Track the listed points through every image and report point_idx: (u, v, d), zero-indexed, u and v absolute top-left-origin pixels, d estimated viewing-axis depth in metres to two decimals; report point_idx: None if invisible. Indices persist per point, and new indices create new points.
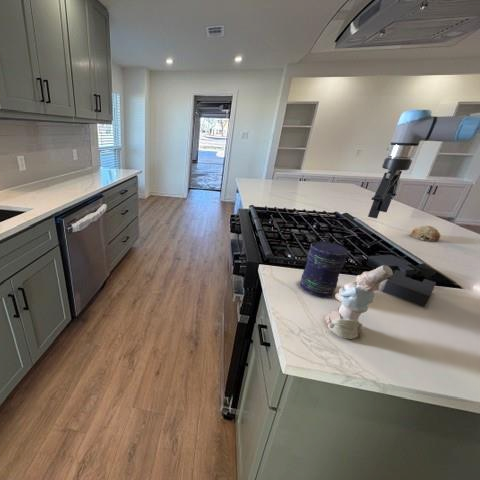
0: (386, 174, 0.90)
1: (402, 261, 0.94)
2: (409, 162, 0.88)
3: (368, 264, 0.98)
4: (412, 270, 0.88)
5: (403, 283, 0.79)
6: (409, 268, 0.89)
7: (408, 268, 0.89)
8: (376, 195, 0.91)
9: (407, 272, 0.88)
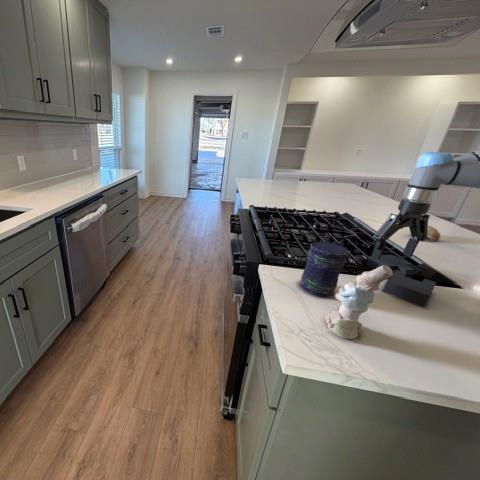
0: (391, 215, 0.87)
1: (402, 261, 0.94)
2: (422, 206, 0.83)
3: (368, 264, 0.98)
4: (412, 270, 0.88)
5: (403, 283, 0.79)
6: (409, 268, 0.89)
7: (408, 268, 0.89)
8: (376, 234, 0.90)
9: (407, 272, 0.88)
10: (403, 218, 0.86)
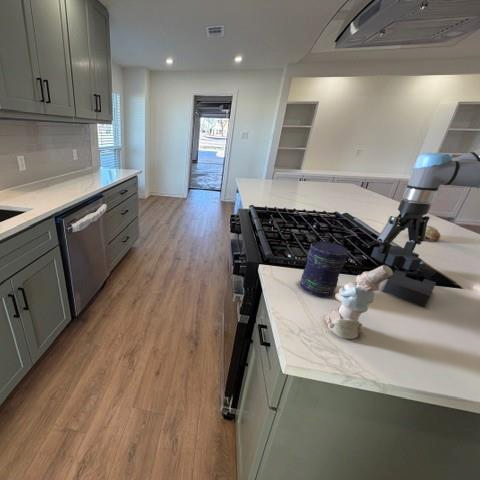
0: (391, 218, 0.87)
1: (408, 251, 0.92)
2: (422, 207, 0.83)
3: (373, 255, 0.96)
4: (418, 260, 0.86)
5: (403, 283, 0.79)
6: (415, 258, 0.87)
7: (414, 258, 0.87)
8: (379, 238, 0.90)
9: (413, 262, 0.86)
10: (403, 219, 0.86)
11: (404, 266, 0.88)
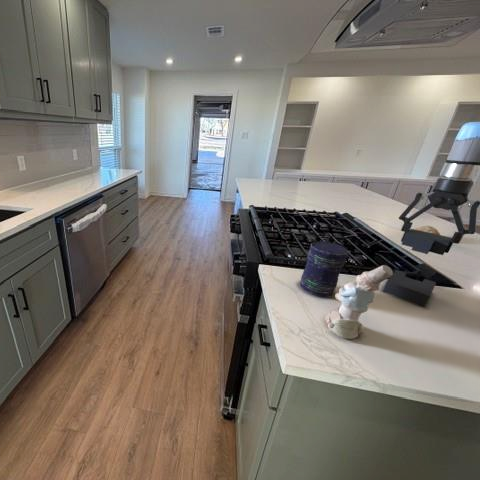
0: None
1: (442, 240, 0.80)
2: (446, 182, 0.75)
3: None
4: (428, 242, 0.78)
5: (403, 283, 0.79)
6: (426, 240, 0.79)
7: (425, 240, 0.79)
8: None
9: (419, 242, 0.80)
10: (430, 196, 0.80)
11: (413, 247, 0.82)
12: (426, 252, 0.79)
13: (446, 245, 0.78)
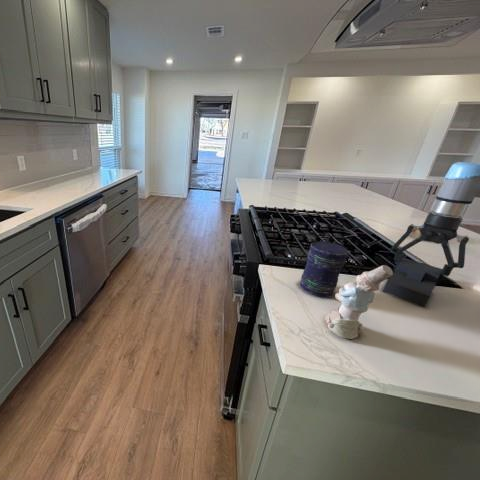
0: (409, 225, 0.86)
1: (433, 272, 0.82)
2: (436, 218, 0.78)
3: None
4: (419, 275, 0.81)
5: (403, 283, 0.79)
6: (417, 272, 0.82)
7: (416, 272, 0.82)
8: (394, 244, 0.90)
9: (411, 274, 0.83)
10: (421, 229, 0.83)
11: None
12: None
13: (436, 278, 0.80)
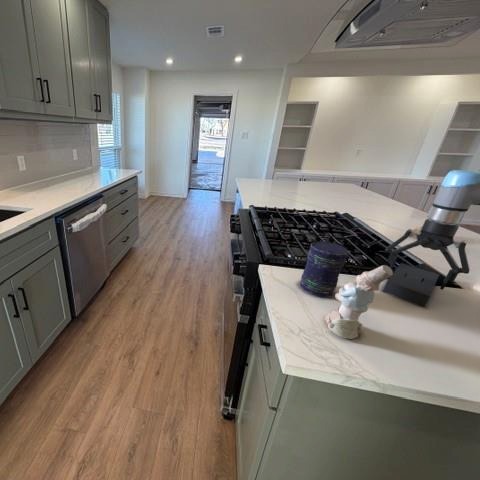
0: (407, 230, 0.87)
1: (430, 277, 0.83)
2: (433, 225, 0.79)
3: None
4: None
5: (403, 283, 0.79)
6: (415, 278, 0.83)
7: (414, 277, 0.83)
8: (388, 246, 0.92)
9: None
10: (418, 236, 0.84)
11: None
12: None
13: None
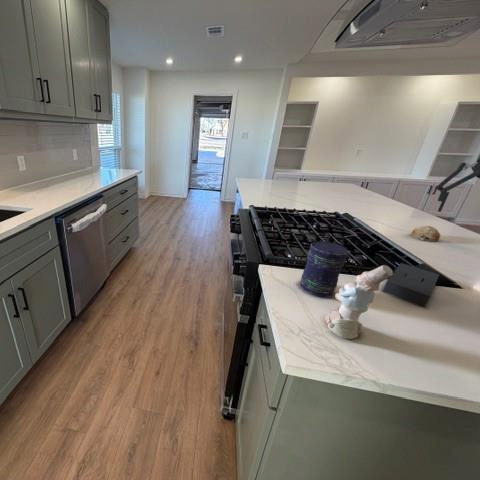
0: None
1: (430, 277, 0.83)
2: None
3: None
4: None
5: (403, 283, 0.79)
6: (415, 278, 0.83)
7: (414, 277, 0.83)
8: (438, 184, 0.88)
9: None
10: (474, 167, 0.80)
11: None
12: None
13: None
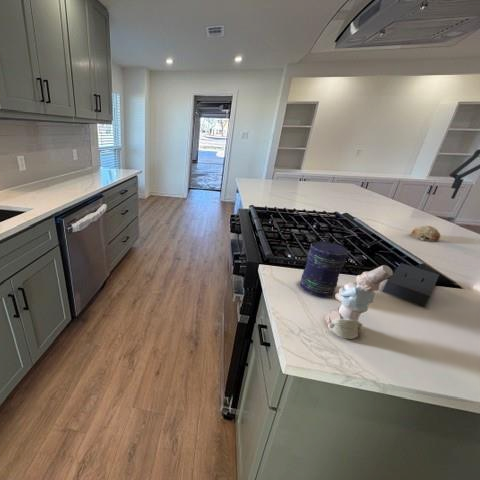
0: (476, 151, 0.84)
1: (430, 277, 0.83)
2: None
3: None
4: None
5: (403, 283, 0.79)
6: (415, 278, 0.83)
7: (414, 277, 0.83)
8: None
9: None
10: None
11: None
12: None
13: None
